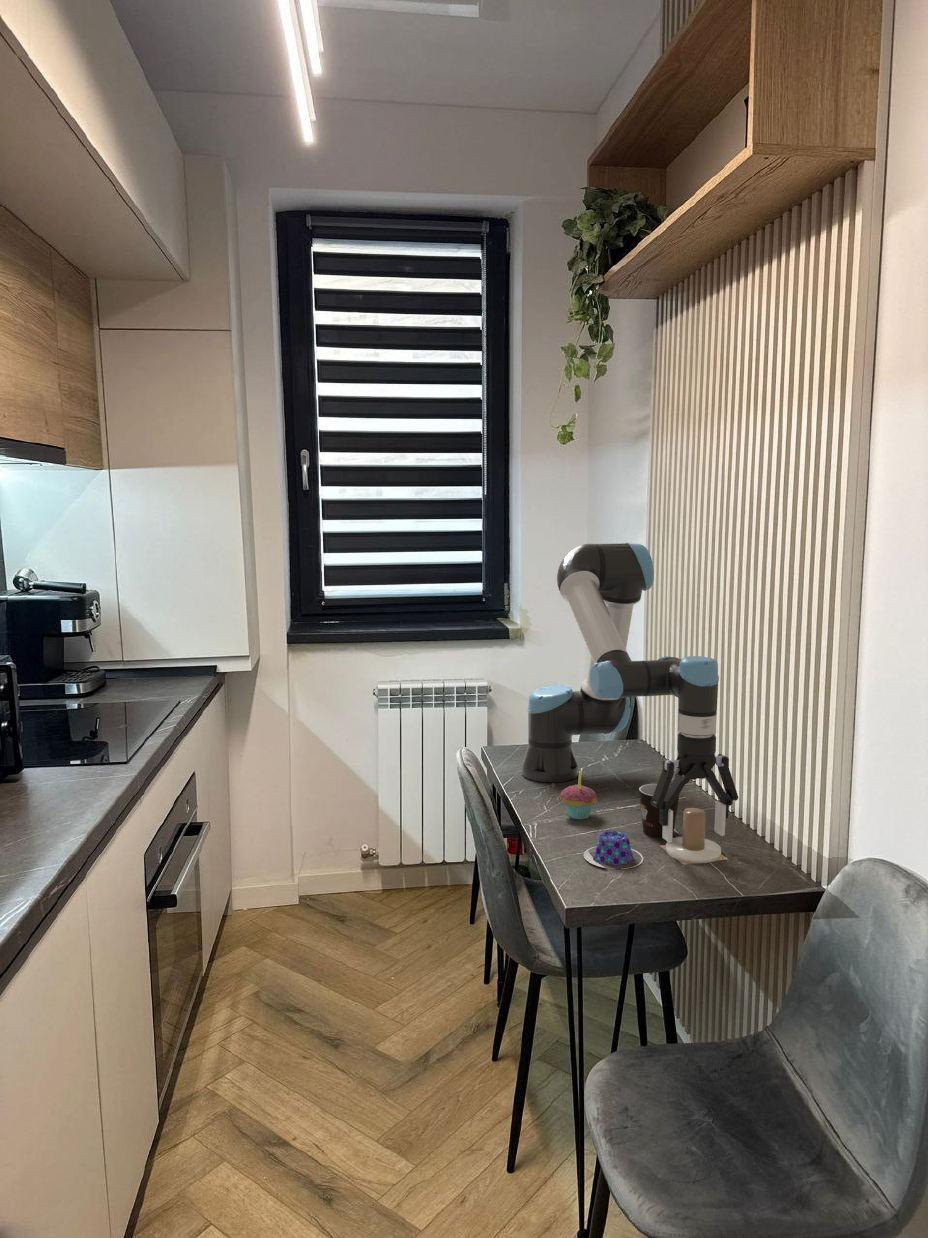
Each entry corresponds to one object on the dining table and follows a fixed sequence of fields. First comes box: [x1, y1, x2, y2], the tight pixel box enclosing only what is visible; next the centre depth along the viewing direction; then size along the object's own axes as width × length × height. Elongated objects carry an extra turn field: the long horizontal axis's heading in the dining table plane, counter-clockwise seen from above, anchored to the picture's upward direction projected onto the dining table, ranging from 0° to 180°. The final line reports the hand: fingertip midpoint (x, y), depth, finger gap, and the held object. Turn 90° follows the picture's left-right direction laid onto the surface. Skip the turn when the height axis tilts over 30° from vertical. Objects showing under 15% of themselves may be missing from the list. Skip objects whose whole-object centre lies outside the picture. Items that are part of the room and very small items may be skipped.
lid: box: [665, 807, 722, 864], centre depth 173 cm, size 11×11×9 cm
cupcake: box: [559, 768, 598, 820], centre depth 195 cm, size 9×8×12 cm
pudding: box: [583, 830, 644, 870], centre depth 172 cm, size 12×12×5 cm
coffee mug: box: [638, 783, 681, 839], centre depth 185 cm, size 12×9×10 cm
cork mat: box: [659, 844, 729, 866], centre depth 174 cm, size 10×10×1 cm
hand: (693, 836), depth 173 cm, fingers open, 11 cm apart
